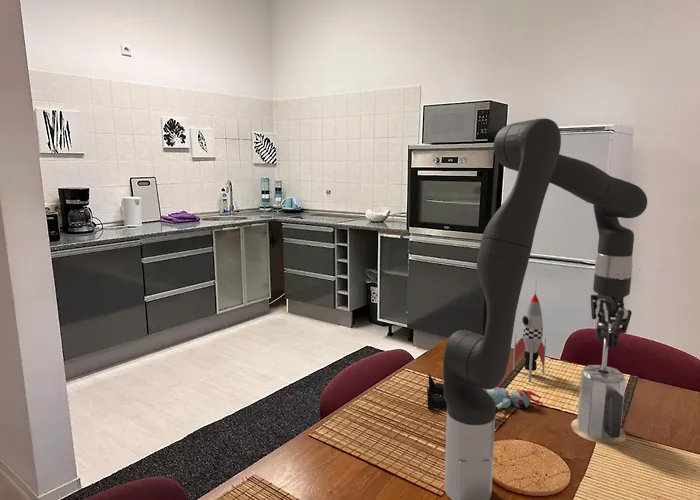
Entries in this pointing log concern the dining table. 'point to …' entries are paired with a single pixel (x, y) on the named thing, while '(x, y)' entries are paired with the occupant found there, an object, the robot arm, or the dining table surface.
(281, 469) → the dining table surface
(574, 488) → the dining table surface
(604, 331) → the plunger
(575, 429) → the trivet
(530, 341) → the toy
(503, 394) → the toy
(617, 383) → the french press
